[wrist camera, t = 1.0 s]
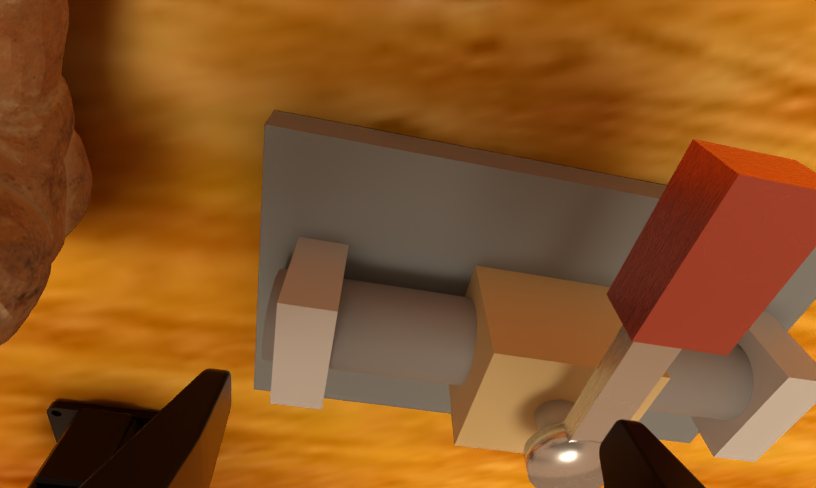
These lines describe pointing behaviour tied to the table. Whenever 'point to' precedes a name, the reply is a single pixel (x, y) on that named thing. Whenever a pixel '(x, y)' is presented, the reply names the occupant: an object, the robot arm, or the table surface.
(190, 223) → the table surface
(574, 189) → the valve board
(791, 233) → the lever
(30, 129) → the pipe
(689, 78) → the table surface
